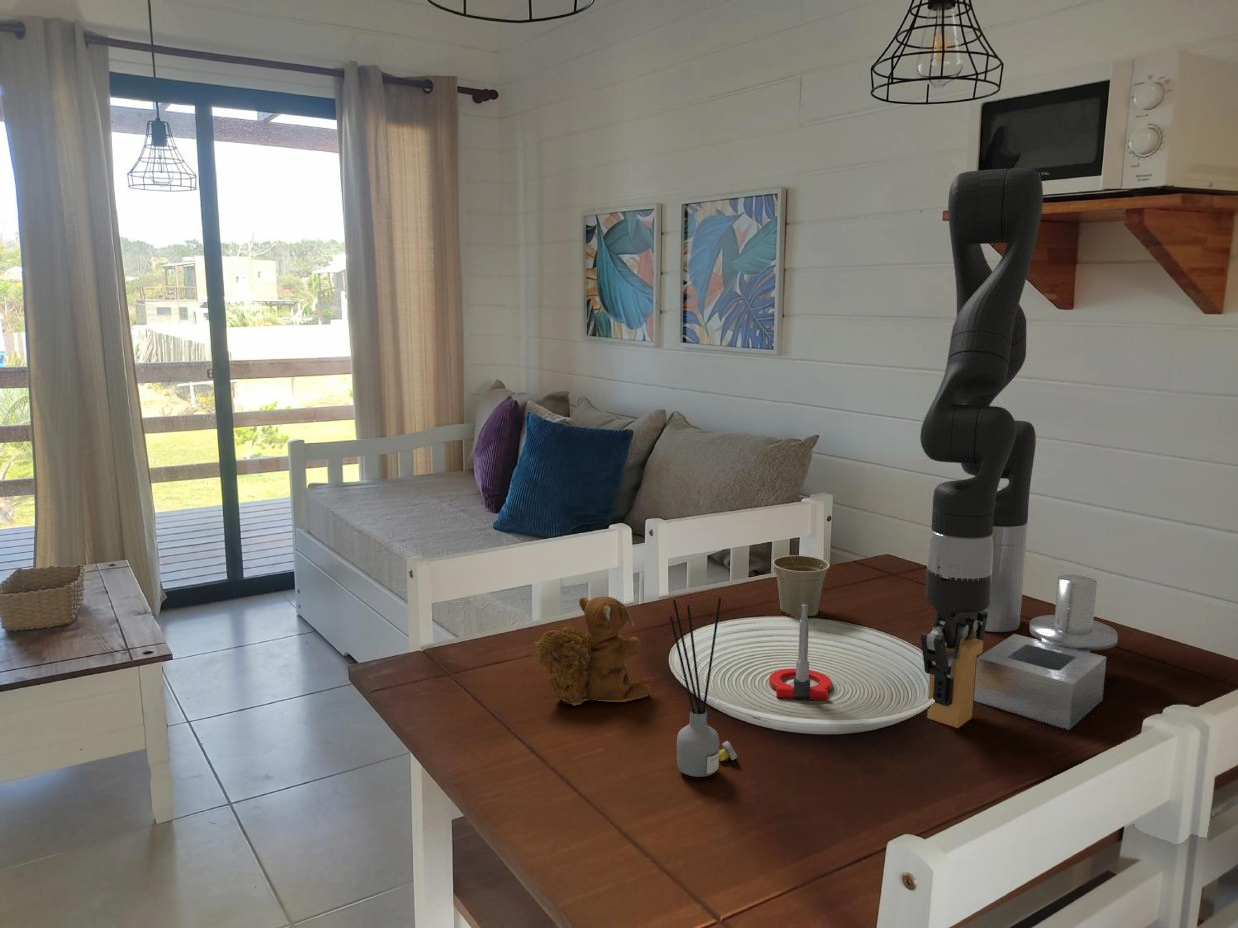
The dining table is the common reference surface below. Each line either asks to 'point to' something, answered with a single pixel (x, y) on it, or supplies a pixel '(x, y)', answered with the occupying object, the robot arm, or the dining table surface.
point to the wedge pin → (958, 687)
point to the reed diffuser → (698, 720)
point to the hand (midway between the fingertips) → (950, 697)
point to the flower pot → (800, 582)
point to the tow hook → (801, 672)
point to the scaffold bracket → (1050, 661)
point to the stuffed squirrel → (592, 655)
